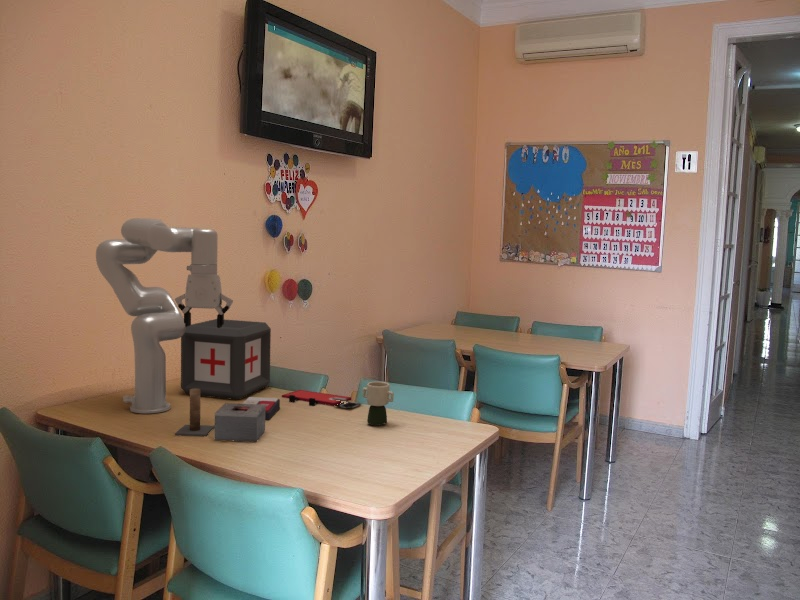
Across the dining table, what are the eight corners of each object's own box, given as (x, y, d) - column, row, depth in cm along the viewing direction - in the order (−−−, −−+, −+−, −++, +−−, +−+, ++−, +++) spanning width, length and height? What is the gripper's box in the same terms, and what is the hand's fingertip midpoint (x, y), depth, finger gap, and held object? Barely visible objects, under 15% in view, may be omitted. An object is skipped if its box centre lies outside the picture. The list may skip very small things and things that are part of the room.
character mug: (397, 424, 216) (399, 384, 214) (386, 429, 209) (388, 388, 208) (367, 419, 220) (368, 379, 219) (356, 424, 214) (357, 383, 213)
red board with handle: (347, 412, 228) (369, 403, 242) (347, 404, 228) (369, 396, 241) (275, 400, 242) (299, 393, 255) (275, 393, 242) (300, 386, 255)
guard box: (214, 440, 193) (214, 412, 193) (225, 429, 204) (225, 403, 204) (256, 441, 193) (256, 414, 192) (265, 430, 204) (265, 404, 203)
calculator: (234, 408, 215) (247, 395, 230) (234, 421, 216) (248, 407, 231) (269, 410, 215) (280, 396, 229) (269, 423, 215) (280, 408, 230)
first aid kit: (214, 380, 267) (214, 317, 265) (272, 386, 261) (273, 322, 258) (177, 395, 243) (177, 325, 241) (240, 401, 237) (241, 330, 234)
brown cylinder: (188, 430, 200) (188, 390, 198) (191, 427, 203) (191, 388, 201) (198, 431, 199) (198, 391, 198) (201, 428, 202) (201, 388, 201)
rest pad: (174, 435, 197) (174, 433, 197) (185, 426, 206) (185, 424, 206) (205, 436, 197) (205, 434, 196) (214, 427, 205) (214, 425, 205)
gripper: (171, 269, 201) (171, 327, 202) (229, 272, 200) (228, 329, 202) (180, 268, 208) (179, 323, 210) (236, 270, 208) (235, 326, 210)
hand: (203, 326), depth 206 cm, fingers open, 9 cm apart
